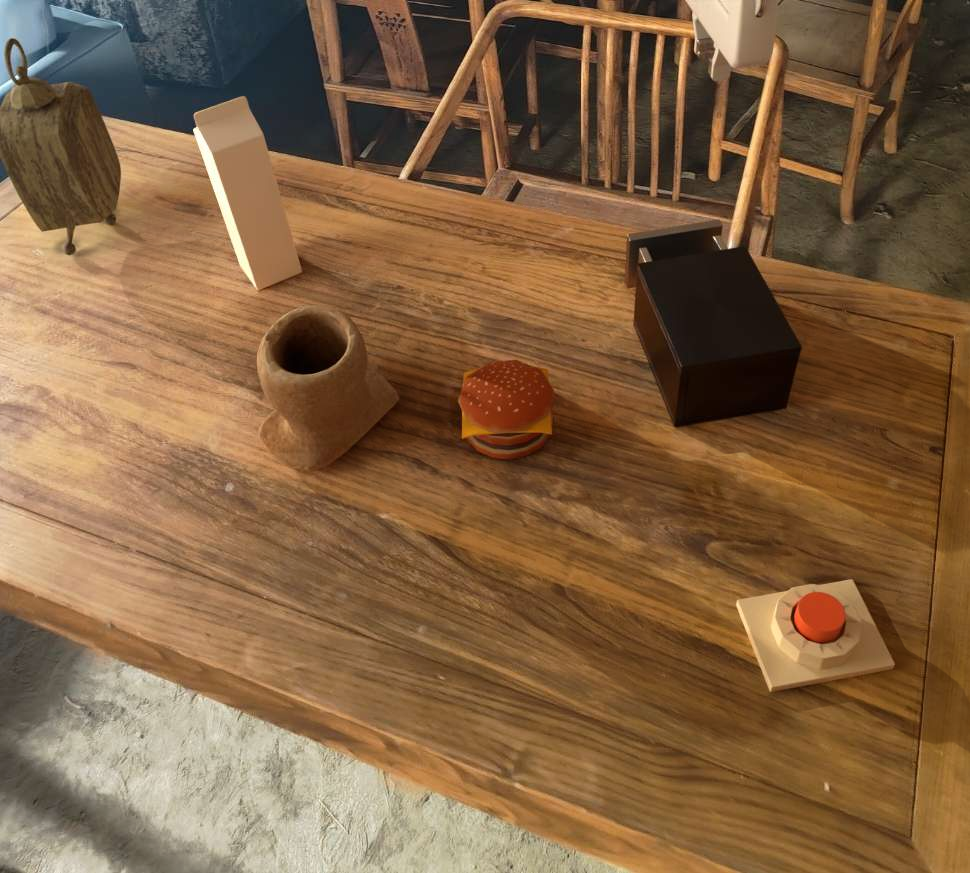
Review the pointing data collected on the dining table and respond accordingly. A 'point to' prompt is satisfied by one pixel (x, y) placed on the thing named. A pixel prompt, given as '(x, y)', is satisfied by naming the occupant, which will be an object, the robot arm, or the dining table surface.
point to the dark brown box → (714, 336)
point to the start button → (819, 617)
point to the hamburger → (507, 408)
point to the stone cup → (318, 387)
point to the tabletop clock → (57, 152)
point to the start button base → (804, 660)
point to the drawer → (670, 244)
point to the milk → (247, 191)
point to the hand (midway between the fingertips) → (711, 66)
